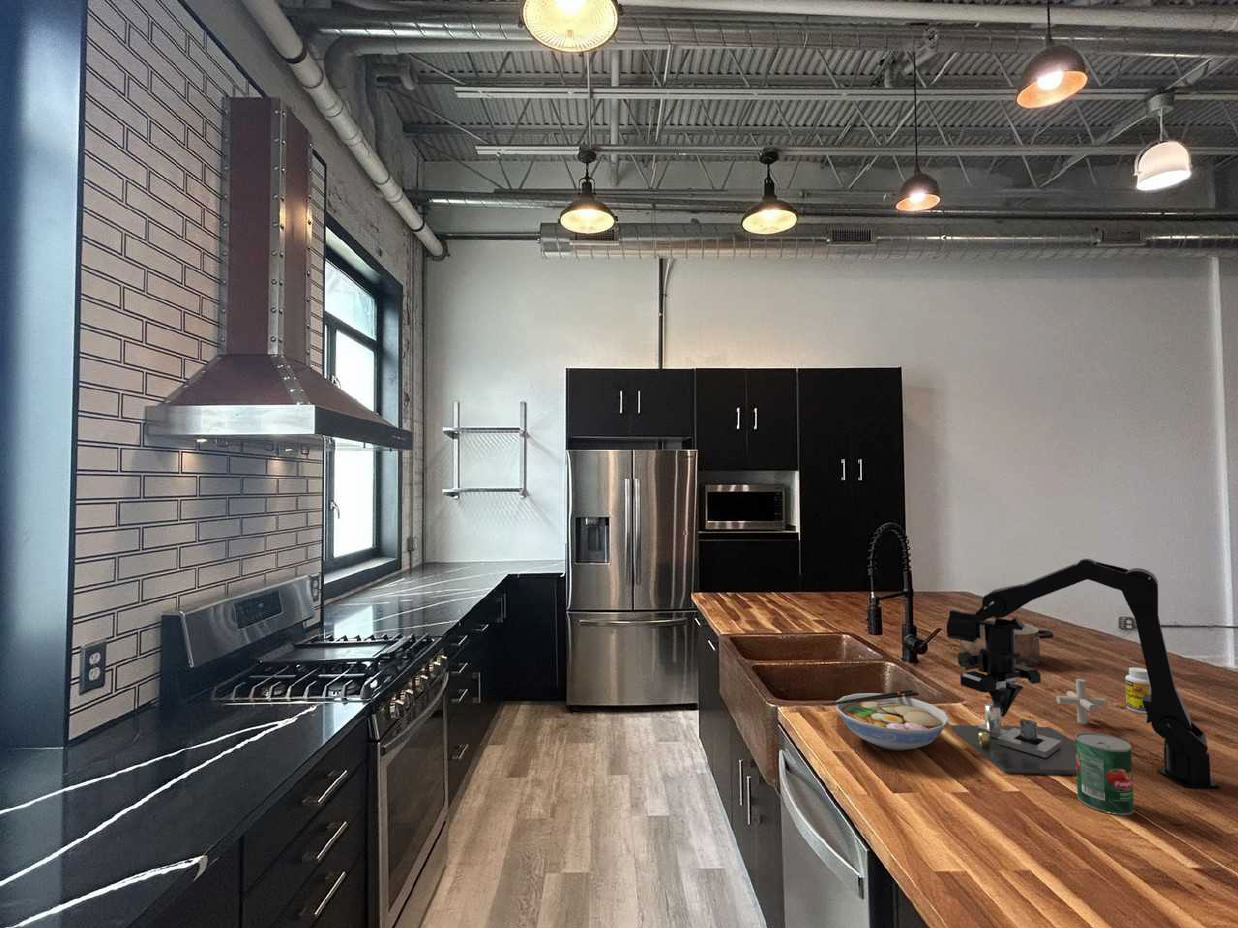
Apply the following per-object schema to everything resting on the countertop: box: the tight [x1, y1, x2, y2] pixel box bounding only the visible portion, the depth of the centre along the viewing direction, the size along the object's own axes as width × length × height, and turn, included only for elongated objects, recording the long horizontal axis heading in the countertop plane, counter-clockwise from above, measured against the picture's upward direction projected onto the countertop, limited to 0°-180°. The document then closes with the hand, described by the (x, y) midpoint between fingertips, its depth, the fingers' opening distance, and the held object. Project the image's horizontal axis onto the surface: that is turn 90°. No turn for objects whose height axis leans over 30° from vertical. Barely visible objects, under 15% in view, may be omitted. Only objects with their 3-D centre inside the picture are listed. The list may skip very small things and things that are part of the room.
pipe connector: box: [1056, 678, 1108, 725], centre depth 145 cm, size 10×10×10 cm
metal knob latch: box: [978, 703, 1062, 758], centre depth 132 cm, size 14×9×6 cm, turn 37°
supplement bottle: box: [1125, 667, 1151, 715], centre depth 153 cm, size 6×6×10 cm
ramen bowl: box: [822, 689, 950, 752], centre depth 133 cm, size 25×23×8 cm
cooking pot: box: [946, 618, 1054, 668], centre depth 201 cm, size 30×22×11 cm
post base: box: [951, 719, 1077, 776], centre depth 129 cm, size 22×22×6 cm
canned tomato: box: [1074, 731, 1135, 816], centre depth 108 cm, size 8×8×11 cm
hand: (1001, 716), depth 137 cm, fingers closed
